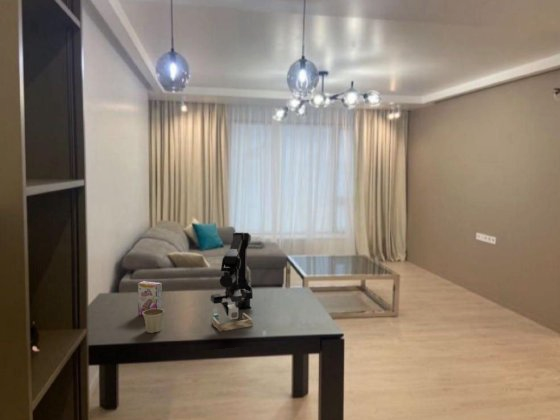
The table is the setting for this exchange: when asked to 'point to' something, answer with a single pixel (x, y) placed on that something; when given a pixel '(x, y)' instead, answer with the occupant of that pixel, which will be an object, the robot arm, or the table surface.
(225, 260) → the robot arm
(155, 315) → the flower pot
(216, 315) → the teal block pair
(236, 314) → the block
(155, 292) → the candy bar box
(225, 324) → the open wooden frame
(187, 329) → the table surface
